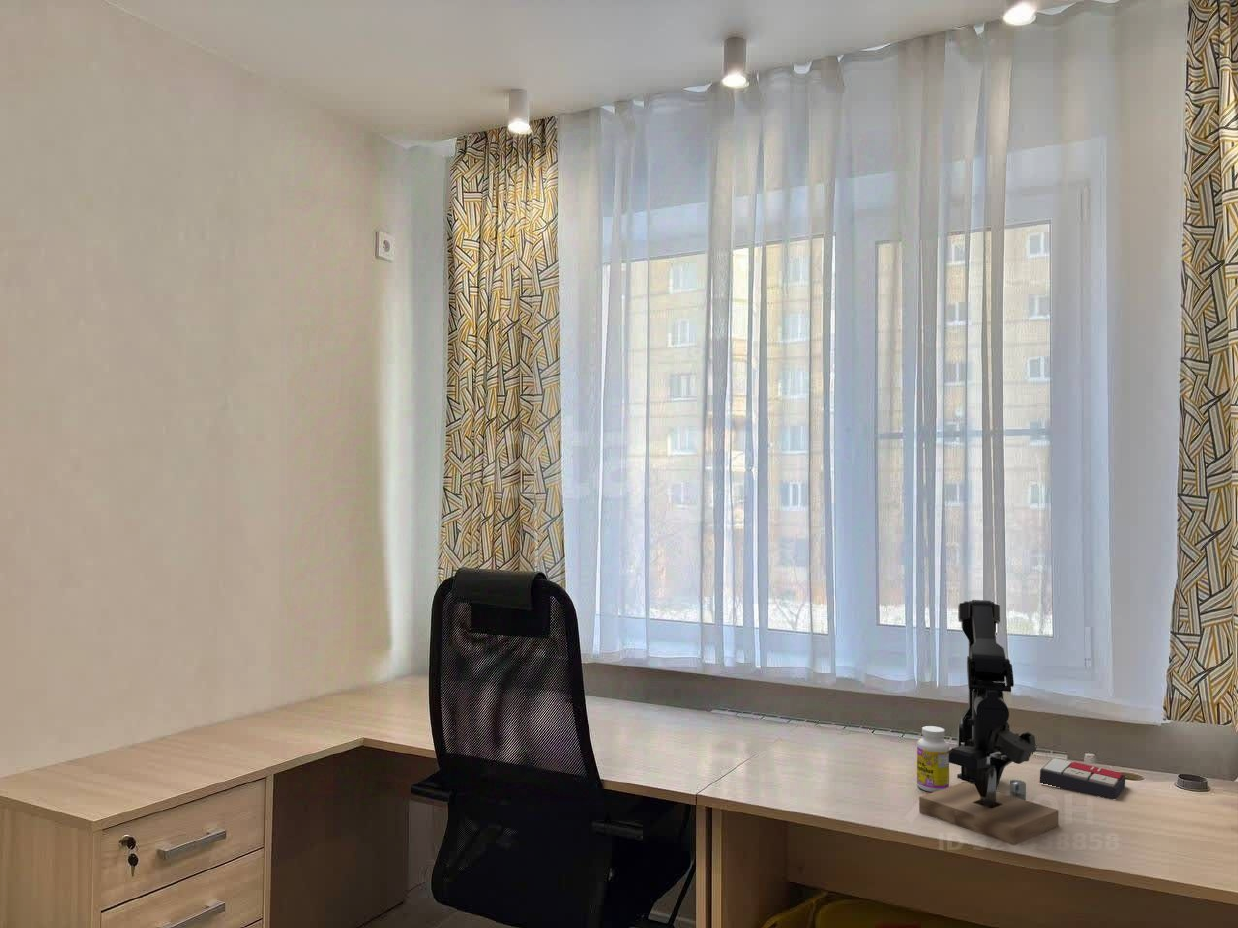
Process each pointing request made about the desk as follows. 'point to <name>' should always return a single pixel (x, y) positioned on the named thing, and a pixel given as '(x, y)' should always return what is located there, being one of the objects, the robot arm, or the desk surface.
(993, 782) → the long metal pin
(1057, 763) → the dark boxy piece
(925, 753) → the supplement bottle
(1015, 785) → the short metal pin
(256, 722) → the desk surface
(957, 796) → the walnut hole board
